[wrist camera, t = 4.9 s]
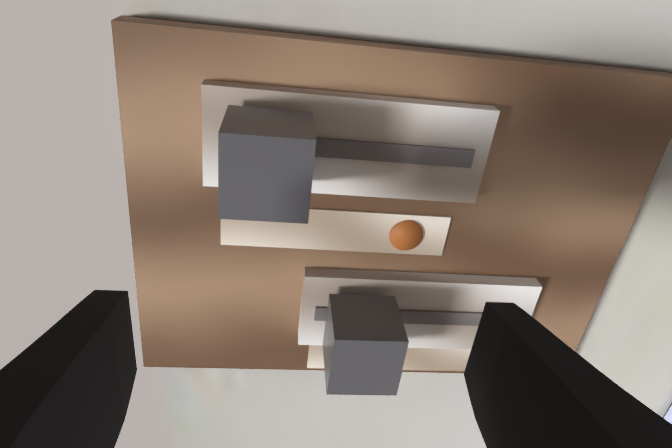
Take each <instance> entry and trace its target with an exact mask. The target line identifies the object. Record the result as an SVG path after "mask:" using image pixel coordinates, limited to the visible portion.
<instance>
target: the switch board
mask: <svg viewBox="0 0 672 448" xmlns="http://www.w3.org/2000/svg"><path fill="white" fill-rule="evenodd" d="M111 24H112V34H113V45H114V56H115V66H116V77H117V87H118V97H119V108H120V119H121V130H122V140H123V151H124V161H125V172H126V183H127V192H128V204H129V214H130V224H131V235H132V246H133V255H134V256H133V257H134V267H135V278H136V288H137V299H138V309H139V320H140V331H141V341H142V351H143V362H144V366H145V367H187V368H238V369H288V370H325V368H324V357H323V337H324V329H325V321H326V314H327V306H328V298H329V294H354V295H379V296H395V298H396V301H397V304H398V307H399V311H400V314H401V317H402V321H403V324H404V327H405V331H406V334H407V337H408V341H409V344H408V348H407V352H406V357H405V361H404V365H403V369H402V372H438V373H464V371H465V368H466V365H467V361H468V358H469V355H470V352H471V348H472V345H473V342H474V339H475V335H476V332H477V329H478V326H479V322H480V319H481V316H482V313H483V309H484V306H485V303H486V302H509V303H515V304H516V305H517V306H519V307H520V308H522V309H523V310H524V311H526V312H527V313H528V314H529V315H531V316H532V317H533V318H534V319H536V320H537V321H538V322H539V323H541V324H542V325H543V326H544V327H546V328H547V329H548V330H549V331H551V332H552V333H553V334H554V335H555V336H557V337H558V338H559V339H560V340H562V341H563V342H564V343H565V344H566V345H568V346H569V347H570V348H571V349H573V350H574V351H575V352H576V349H577V347H578V345H579V343H580V340H581V338H582V336H583V334H584V332H585V329H586V327H587V325H588V323H589V320H590V318H591V316H592V314H593V311H594V309H595V307H596V305H597V302H598V300H599V298H600V296H601V293H602V291H603V289H604V287H605V284H606V282H607V280H608V278H609V276H610V273H611V271H612V269H613V267H614V264H615V262H616V260H617V258H618V255H619V253H620V251H621V249H622V246H623V244H624V242H625V240H626V237H627V235H628V233H629V231H630V229H631V226H632V224H633V222H634V220H635V217H636V215H637V213H638V211H639V208H640V206H641V204H642V202H643V199H644V197H645V195H646V193H647V190H648V188H649V186H650V184H651V181H652V179H653V177H654V175H655V173H656V170H657V168H658V166H659V164H660V161H661V159H662V157H663V155H664V152H665V150H666V148H667V146H668V143H669V141H670V139H671V137H672V73H671V72H662V71H652V70H642V69H633V68H623V67H613V66H604V65H594V64H585V63H575V62H565V61H556V60H546V59H536V58H527V57H517V56H507V55H498V54H488V53H478V52H469V51H459V50H449V49H440V48H430V47H421V46H411V45H401V44H392V43H382V42H372V41H363V40H353V39H343V38H334V37H324V36H314V35H305V34H295V33H285V32H276V31H266V30H256V29H247V28H237V27H228V26H218V25H208V24H199V23H189V22H179V21H170V20H160V19H150V18H141V17H131V16H119V17H117V18H115V19H113V20H111ZM228 105H238V106H250V107H262V108H273V109H285V110H297V111H309V112H312V114H313V121H314V128H315V135H316V148H315V158H314V168H313V179H312V189H311V199H310V210H309V220H308V224H301V223H283V222H266V221H248V220H230V219H218V132H219V129H220V126H221V124H222V121H223V118H224V115H225V112H226V109H227V107H228Z"/></svg>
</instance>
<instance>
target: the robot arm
mask: <svg viewBox="0 0 672 448" xmlns="http://www.w3.org/2000/svg"><path fill="white" fill-rule="evenodd" d="M136 371H137V367H136V358H135V349H134V341H133V332H132V323H131V315H130V306H129V297H128V291H110V290H108V291H107V290H94V291H93V292H92V293H91V294H89V295H88V296H87V297H86V298H85V299H83V300H82V301H81V302H80V303H79V304H77V305H76V306H75V307H74V308H73V309H72V310H71V311H69V313H67V314H66V315H65V316H64V317H62V318H61V320H59V321H58V322H57V323H56V324H55V325H54V326H52V327H51V328H50V329H49V330H48V331H46V332H45V333H44V334H43V335H42V336H41V337H39V338H38V339H37V340H36V341H35V342H33V344H31V345H30V346H29V347H28V348H26V349H25V350H24V351H23V352H22V353H21V354H19V355H18V356H17V357H16V358H14V359H13V360H12V361H11V362H10V363H8V364H7V365H6V366H5V367H3V368H2V369H1V370H0V448H114V446H115V444H116V441H117V439H118V436H119V433H120V431H121V428H122V425H123V422H124V420H125V416H126V412H127V408H128V404H129V400H130V397H131V392H132V388H133V384H134V380H135V375H136ZM464 376H465V380H466V384H467V388H468V393H469V397H470V400H471V404H472V408H473V411H474V415H475V418H476V421H477V424H478V426H479V429H480V432H481V434H482V437H483V439H484V442H485V444H486V447H487V448H672V405H671V407H670V408H669V410H668V412H667V413H666V415H665V417H664V418H662V417H661V416H659V415H658V414H656V413H655V412H654V411H652V410H651V409H649V408H648V407H647V406H645V405H644V404H643V403H641V402H640V401H638V400H637V399H636V398H634V397H633V396H632V395H630V394H629V393H628V392H626V391H625V390H623V389H622V388H621V387H619V386H618V385H617V384H616V383H614V382H613V381H612V380H610V379H609V378H608V377H606V376H605V375H604V374H603V373H601V372H600V371H599V370H597V369H596V368H595V367H594V366H592V365H591V364H590V363H589V362H587V361H586V360H585V359H584V358H582V357H581V356H580V355H579V354H577V353H576V352H575V351H574V350H573V349H571V348H570V347H569V346H568V345H566V344H565V343H564V342H563V341H562V340H560V339H559V338H558V337H557V336H555V335H554V334H553V333H552V332H551V331H549V330H548V329H547V328H546V327H544V326H543V325H542V324H541V323H539V322H538V321H537V320H536V319H534V318H533V317H532V316H531V315H529V314H528V313H527V312H526V311H524V310H523V309H522V308H520V307H519V306H517V305H516V304H515V303H509V302H486V303H485V306H484V309H483V313H482V316H481V319H480V322H479V326H478V329H477V332H476V335H475V339H474V342H473V345H472V348H471V352H470V355H469V358H468V361H467V365H466V368H465V371H464Z"/></svg>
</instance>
